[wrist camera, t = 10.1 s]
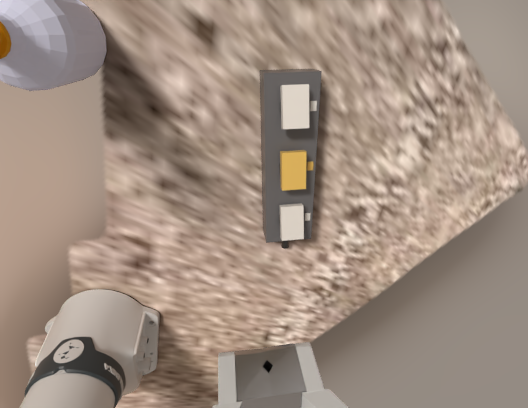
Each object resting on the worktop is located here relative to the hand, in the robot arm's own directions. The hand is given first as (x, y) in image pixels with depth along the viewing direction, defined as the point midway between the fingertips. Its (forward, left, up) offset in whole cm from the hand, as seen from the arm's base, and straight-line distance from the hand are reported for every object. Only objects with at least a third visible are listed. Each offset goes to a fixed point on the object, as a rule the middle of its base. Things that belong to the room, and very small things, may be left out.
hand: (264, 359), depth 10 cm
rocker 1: (+2, -8, -32) cm, 34 cm away
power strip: (-7, -8, -37) cm, 39 cm away
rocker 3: (-14, -8, -32) cm, 36 cm away
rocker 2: (-6, -8, -32) cm, 34 cm away
